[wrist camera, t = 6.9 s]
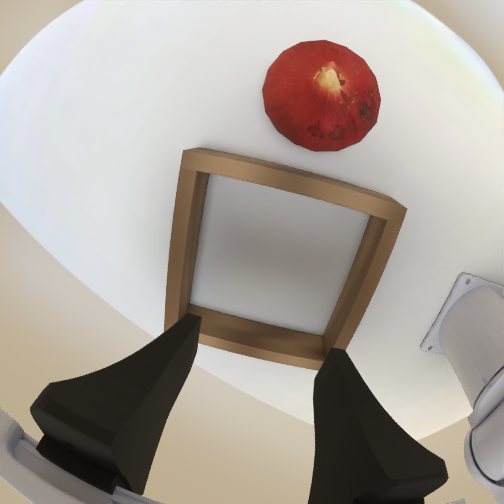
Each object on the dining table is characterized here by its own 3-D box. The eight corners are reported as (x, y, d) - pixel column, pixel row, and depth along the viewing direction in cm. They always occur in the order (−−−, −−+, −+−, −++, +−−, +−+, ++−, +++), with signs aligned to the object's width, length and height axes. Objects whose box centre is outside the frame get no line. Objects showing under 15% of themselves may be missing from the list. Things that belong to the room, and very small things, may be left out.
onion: (377, 101, 15) (435, 83, 8) (324, 166, 17) (349, 190, 10) (304, 45, 14) (313, -12, 7) (249, 111, 16) (220, 93, 9)
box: (390, 197, 17) (407, 208, 15) (329, 347, 23) (332, 372, 20) (199, 147, 18) (183, 150, 15) (177, 310, 23) (164, 332, 20)
